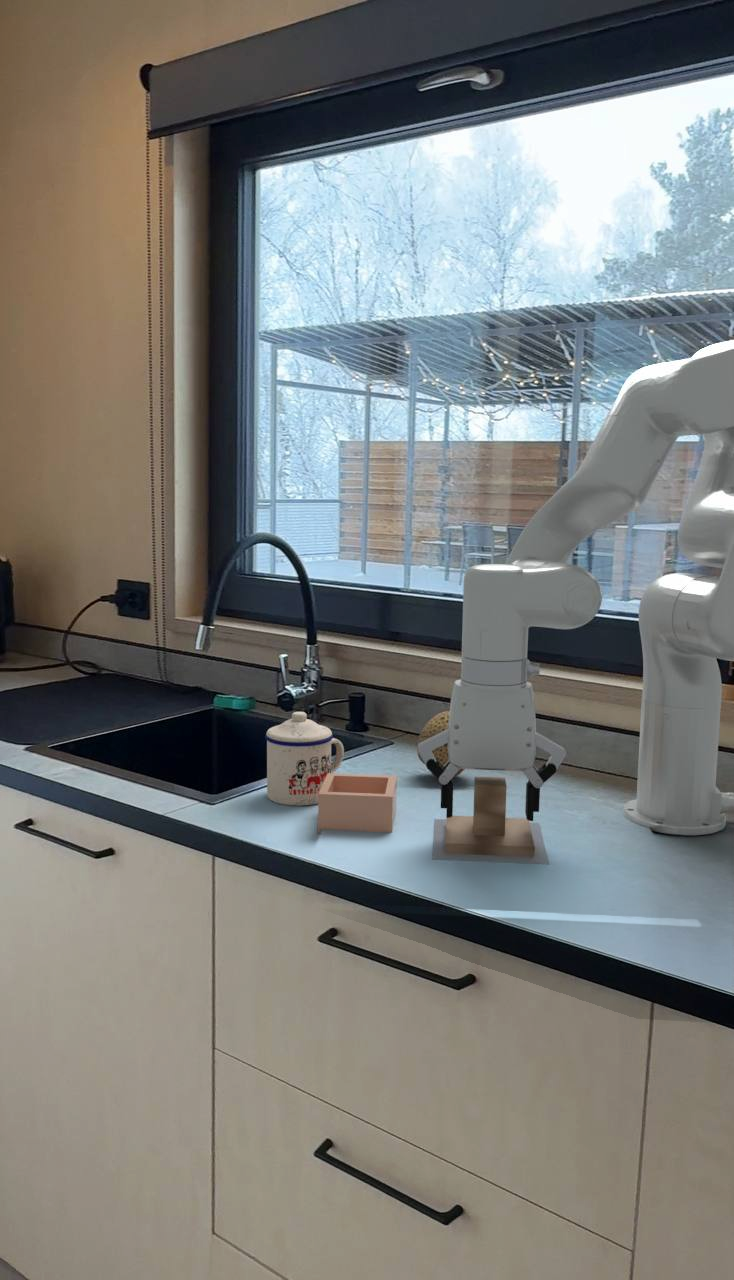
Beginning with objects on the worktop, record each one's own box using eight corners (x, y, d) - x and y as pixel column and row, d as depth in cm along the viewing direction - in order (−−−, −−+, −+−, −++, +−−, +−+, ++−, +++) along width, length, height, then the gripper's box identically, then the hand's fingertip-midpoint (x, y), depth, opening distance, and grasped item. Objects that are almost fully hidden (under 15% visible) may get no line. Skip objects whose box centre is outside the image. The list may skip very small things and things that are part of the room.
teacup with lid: (291, 811, 132) (291, 723, 131) (252, 794, 139) (251, 711, 138) (362, 794, 140) (363, 711, 138) (322, 779, 147) (322, 700, 145)
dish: (396, 813, 132) (396, 775, 131) (392, 836, 123) (392, 796, 123) (327, 810, 133) (327, 773, 132) (318, 833, 124) (318, 793, 123)
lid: (528, 827, 125) (530, 771, 124) (534, 857, 115) (536, 795, 114) (446, 824, 126) (447, 768, 125) (445, 853, 116) (447, 792, 115)
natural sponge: (481, 788, 143) (483, 719, 142) (417, 787, 144) (419, 718, 142) (475, 771, 152) (477, 705, 151) (415, 769, 152) (417, 704, 151)
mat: (538, 827, 127) (539, 823, 127) (549, 869, 113) (549, 864, 113) (434, 823, 128) (434, 819, 128) (431, 864, 115) (432, 859, 114)
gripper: (566, 668, 121) (560, 808, 123) (419, 664, 122) (416, 803, 125) (573, 680, 113) (567, 829, 116) (417, 675, 115) (414, 823, 117)
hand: (489, 815), depth 120 cm, fingers open, 9 cm apart
